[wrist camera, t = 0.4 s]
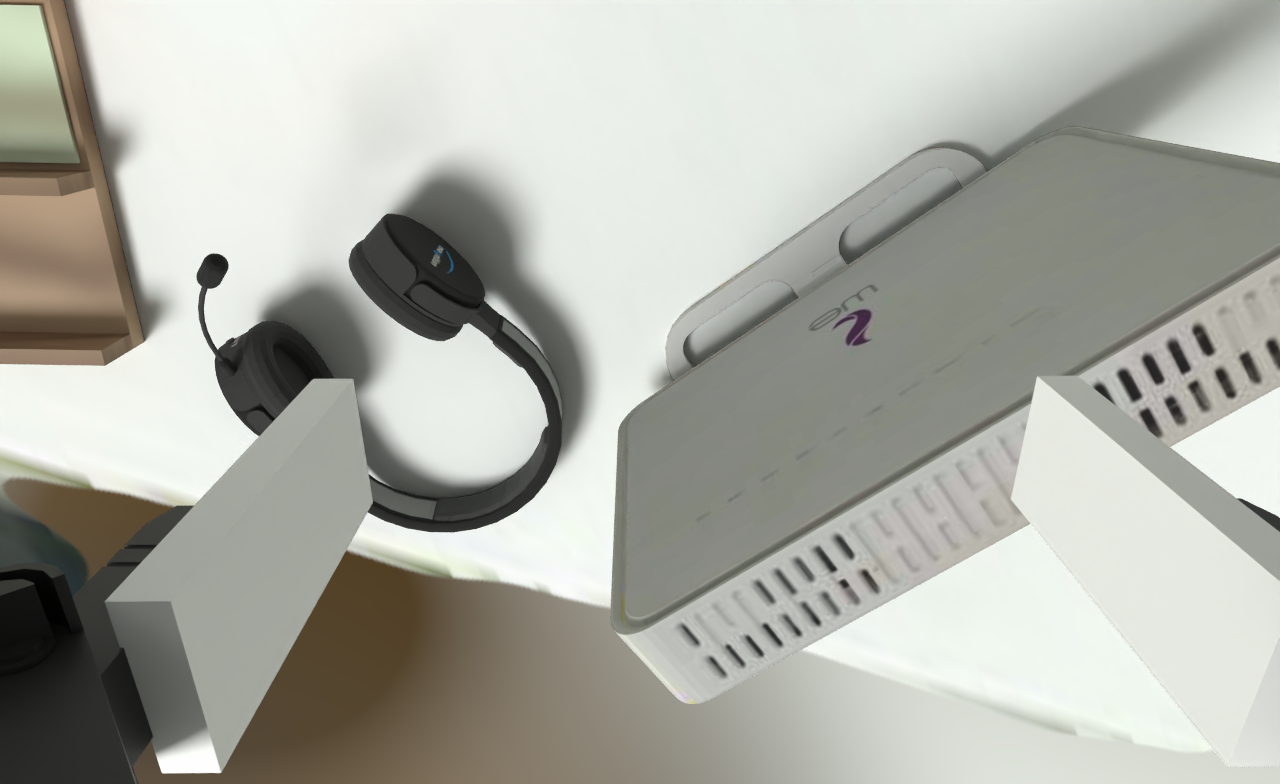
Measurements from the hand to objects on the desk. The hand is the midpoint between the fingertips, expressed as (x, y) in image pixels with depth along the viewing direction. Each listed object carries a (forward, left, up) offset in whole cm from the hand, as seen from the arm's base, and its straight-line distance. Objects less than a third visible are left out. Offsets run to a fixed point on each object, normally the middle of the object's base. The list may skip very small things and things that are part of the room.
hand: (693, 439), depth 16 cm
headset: (+9, -13, -28) cm, 32 cm away
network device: (+5, +10, -27) cm, 29 cm away
